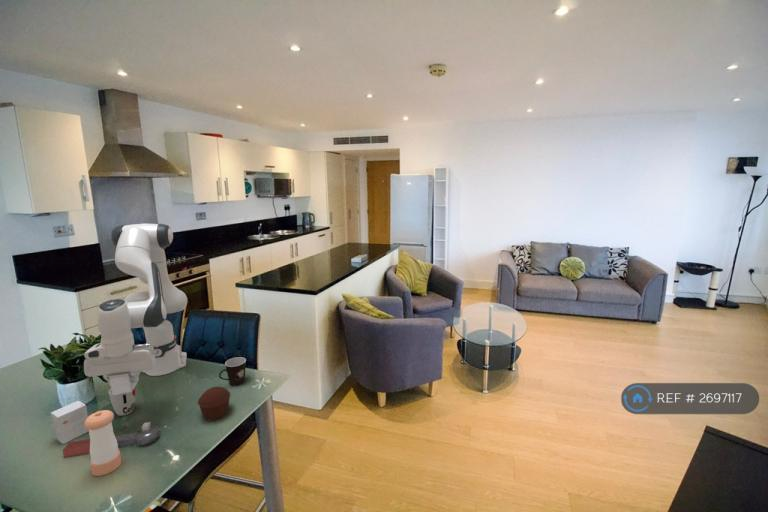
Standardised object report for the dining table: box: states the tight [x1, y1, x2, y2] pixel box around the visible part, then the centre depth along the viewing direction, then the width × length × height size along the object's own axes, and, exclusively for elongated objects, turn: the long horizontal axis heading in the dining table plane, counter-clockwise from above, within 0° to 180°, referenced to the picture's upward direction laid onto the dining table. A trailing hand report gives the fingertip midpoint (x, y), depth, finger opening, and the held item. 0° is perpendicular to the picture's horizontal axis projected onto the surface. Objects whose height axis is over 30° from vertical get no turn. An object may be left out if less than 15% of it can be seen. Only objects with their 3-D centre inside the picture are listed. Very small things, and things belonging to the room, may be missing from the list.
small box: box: [50, 400, 89, 445], centre depth 119 cm, size 8×6×10 cm
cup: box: [108, 386, 136, 417], centre depth 132 cm, size 8×8×10 cm
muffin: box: [197, 386, 231, 421], centre depth 131 cm, size 12×11×10 cm
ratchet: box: [62, 421, 161, 459], centre depth 115 cm, size 7×26×6 cm, turn 107°
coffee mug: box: [218, 356, 247, 387], centre depth 152 cm, size 12×9×10 cm
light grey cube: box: [109, 371, 138, 395], centre depth 120 cm, size 6×6×7 cm
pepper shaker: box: [84, 409, 123, 477], centre depth 104 cm, size 7×7×19 cm
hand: (124, 382), depth 120 cm, fingers closed on light grey cube, 6 cm apart
